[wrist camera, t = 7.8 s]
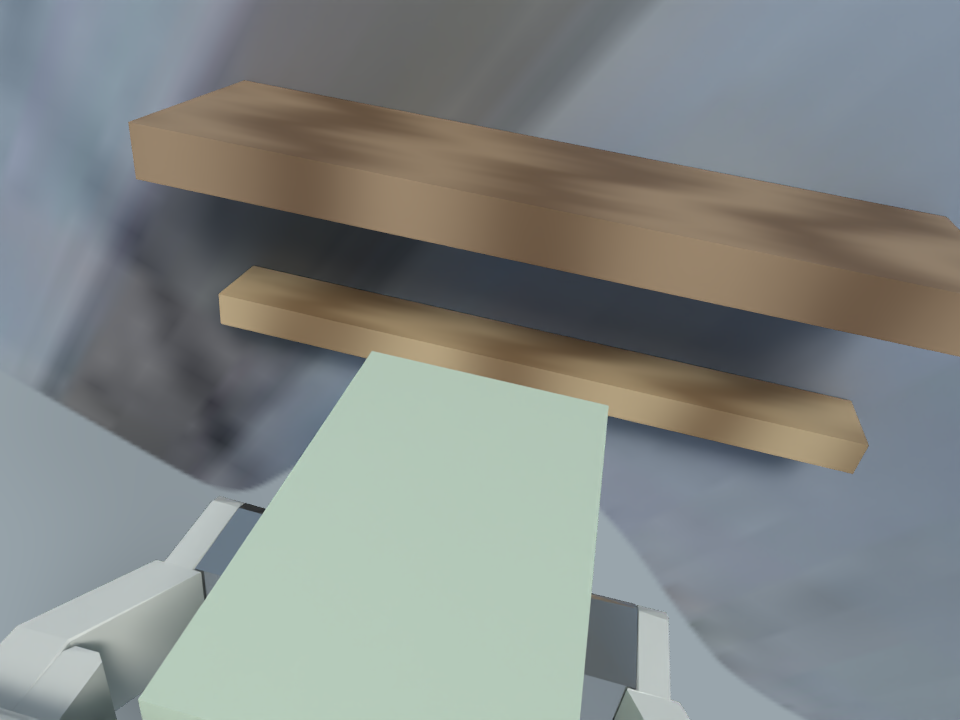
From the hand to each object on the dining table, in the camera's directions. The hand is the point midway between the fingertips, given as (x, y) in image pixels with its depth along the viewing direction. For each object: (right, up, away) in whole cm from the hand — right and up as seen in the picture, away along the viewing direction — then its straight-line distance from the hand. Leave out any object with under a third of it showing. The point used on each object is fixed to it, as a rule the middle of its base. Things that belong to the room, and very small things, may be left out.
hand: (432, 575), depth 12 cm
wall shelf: (+3, +7, +12) cm, 14 cm away
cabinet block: (+1, +2, +3) cm, 4 cm away
